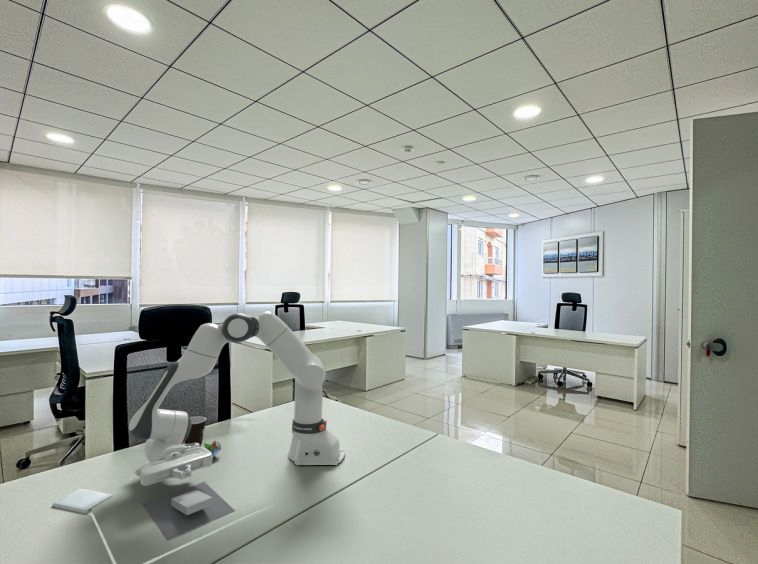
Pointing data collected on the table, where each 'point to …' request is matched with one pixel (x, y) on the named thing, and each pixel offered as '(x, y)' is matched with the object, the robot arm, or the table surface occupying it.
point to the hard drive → (81, 500)
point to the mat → (180, 523)
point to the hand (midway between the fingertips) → (186, 475)
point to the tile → (191, 502)
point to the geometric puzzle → (213, 448)
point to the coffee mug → (196, 430)
